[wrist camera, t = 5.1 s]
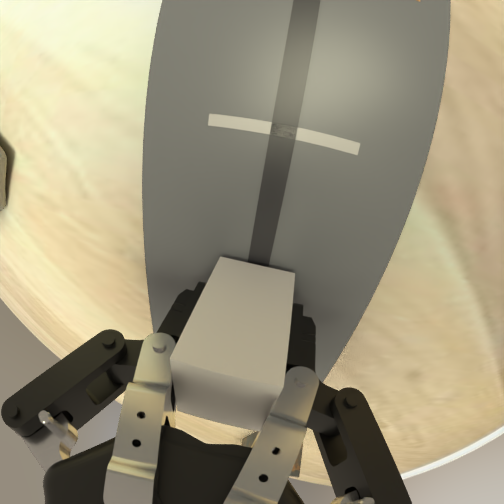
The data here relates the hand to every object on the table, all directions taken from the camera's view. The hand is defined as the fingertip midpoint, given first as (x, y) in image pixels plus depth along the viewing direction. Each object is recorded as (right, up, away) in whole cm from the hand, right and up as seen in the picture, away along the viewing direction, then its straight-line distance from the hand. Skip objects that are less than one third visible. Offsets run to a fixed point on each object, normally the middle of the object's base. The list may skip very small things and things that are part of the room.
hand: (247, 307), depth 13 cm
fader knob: (0, 0, +1) cm, 1 cm away
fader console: (+2, +9, -1) cm, 9 cm away
